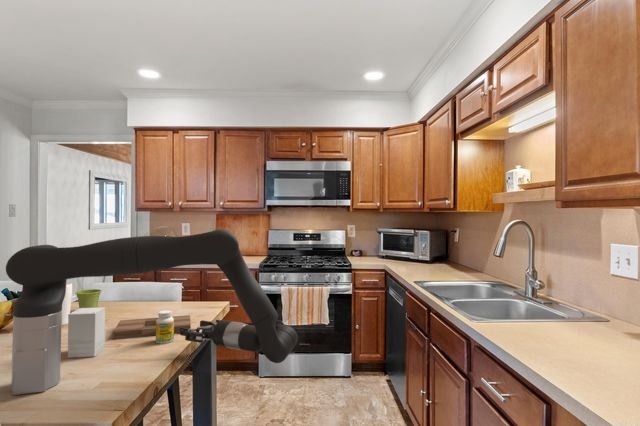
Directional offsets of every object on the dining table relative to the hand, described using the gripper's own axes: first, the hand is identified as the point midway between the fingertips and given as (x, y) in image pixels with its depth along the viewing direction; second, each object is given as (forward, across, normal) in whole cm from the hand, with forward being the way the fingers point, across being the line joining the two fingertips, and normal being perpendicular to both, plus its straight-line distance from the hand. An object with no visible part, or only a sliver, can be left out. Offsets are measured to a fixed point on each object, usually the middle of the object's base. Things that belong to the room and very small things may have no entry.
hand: (190, 327), depth 114 cm
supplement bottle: (+11, 0, +6) cm, 13 cm away
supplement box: (+23, +18, +6) cm, 30 cm away
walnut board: (+24, -7, +6) cm, 26 cm away
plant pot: (+68, -12, +6) cm, 70 cm away
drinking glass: (+59, +4, +6) cm, 60 cm away
